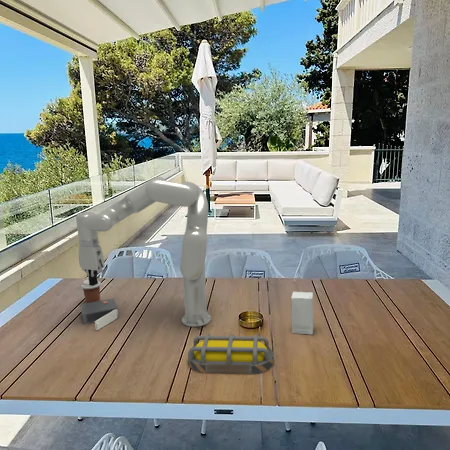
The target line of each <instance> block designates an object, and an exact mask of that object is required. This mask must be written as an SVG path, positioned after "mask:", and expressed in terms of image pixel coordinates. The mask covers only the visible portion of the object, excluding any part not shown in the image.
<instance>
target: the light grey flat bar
mask: <svg viewBox="0 0 450 450" xmlns="http://www.w3.org/2000/svg"><path fill="white" fill-rule="evenodd" d="M118 313H119V308H118V309H115V310H113V311H112V312H110V313H108V314H107V315H105V316H103V317H101V318H100V319H98V320H96V321H95V322H94V325H95V326H94V327H95V331H99V330H101V329H102V328H104V327H105V326H107V325H109V324H110V323H112V322H113V321H115V320H117V319H119V317H120V316H119V317H118Z"/></svg>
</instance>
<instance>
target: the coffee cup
mask: <svg viewBox="0 0 450 450" xmlns="http://www.w3.org/2000/svg"><path fill="white" fill-rule="evenodd" d="M97 280H98V284H96V285H94V286H90V285H89V278H87V279H85V280H83V282H82V284H81V285H80V287H81V289H82V290H83V295H84V299H85V300H84V301H85V304H86V303H91V302H95V301H101V293H100V291H101V289H100V287H101V285H102V284H101V283H102V282H101V281H99V279H98V278H97Z"/></svg>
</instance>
